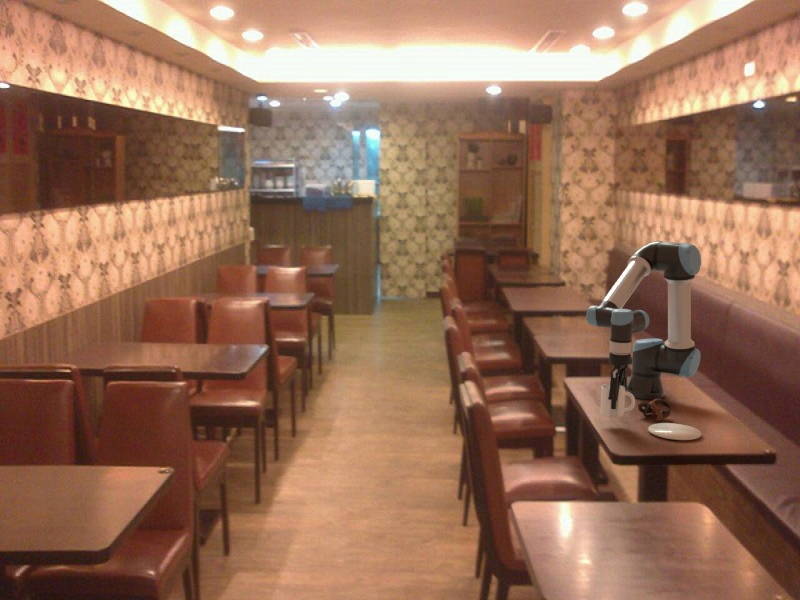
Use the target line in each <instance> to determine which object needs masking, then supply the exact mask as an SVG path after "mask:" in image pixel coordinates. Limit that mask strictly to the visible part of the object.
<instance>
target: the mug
mask: <svg viewBox="0 0 800 600" xmlns="http://www.w3.org/2000/svg"><path fill="white" fill-rule="evenodd" d="M609 391H610V383H606V384H605V383H604V384H602V385H601V392H600V411H599V412H600V414H601V416H603V417H606V418H611V419H612V417H610V400H609V399H608V397H609ZM626 396H627V397H629V398H630V400H631V401H630V406H627V407H625V406H624V402H625V401H626ZM618 400H619V402H618V418H621V417H623V416H624V413H625V412H630V411H631V410H633V409H634V407H635V406H636V398H635V397H634V396H633V394H631V393H630V392H627V391H625V387H624V386H622V385H620V388H619V394H618Z"/></svg>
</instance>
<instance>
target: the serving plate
mask: <svg viewBox="0 0 800 600" xmlns="http://www.w3.org/2000/svg"><path fill="white" fill-rule="evenodd" d="M648 432H649V433H650V434H652V435H653V436H656V437H659V438H663V439H669V440H674V441H675V440H676V441H691V440H693V441H694V440H697V439H699V438H701V437H702V431H700V430H699V429H698V428H696V427H693V426H690V425H686V424H683V423H682V424H681V423H674V422H673V423H671V422H660V423H659V422H658V423H654V424H650V425H649V426H648Z"/></svg>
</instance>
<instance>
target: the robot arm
mask: <svg viewBox="0 0 800 600" xmlns="http://www.w3.org/2000/svg"><path fill="white" fill-rule="evenodd" d="M701 265H702V257H701V252H700V250H699V248H698V247H697V246H696V245H695V244H693V243H685V242H677V241H675V242H674V241H664V240H656V241H652V242H649V243H647V244H644V245H643V246H641V247H639V248H638V249H637V250H635V252H633V254H632V255H631V256H630V258H628V260H627V266H626V267H625V269H624V270H623V271H622V273H621V274H620V275H619V277H618V278H617V279H616V281H615V283H614V284H613V285H612V287H611V288H610V290H609V291H608V293H607V294H606V296H605V297H603V299H602V301H600V303H599V305H591V306H589V307H588V309H587V310H586V322H587V324H588V325H590V326H594V327H596V328H597V327H598V328H605V329H610V338H609V340H610V341H609V342H608V345H609V354H608V362H609V363H610V365H613V368H612V371H611V372H610V383H609V384H610V391H609V397H608V399H609V400H610V417H609V418H611V417H612V418H613V419H618V418H619V417H618V402H619V400H618V394H619V388H620V385H622V386H624V387H625V391H627V392H630V393H631V394H633V396H634V398H635V399H636V398H637V399H642V400H654V399H662V398H664V396H665V389H664V386H663V385H664V384H663V382H662V374H666V375H671V376H676V377H680V378H683V377H684V378H691V377H693V376H694V375H695V374H696V372H697V370H698V368H699V366H700V363H701V358H702V357H701V351H700V349H698V348H696V344H695V341H694V340H692V336H691V335H692V331H691V330H692V329H691V328H692V326H691V325H692V324H691V323H692V320H691V319H692V318H691V317H692V309H691V308H692V301H691V300H692V298H691V297H692V294H691V293H692V289H691V287H692V285H691V284H692V281H693V280H694V279H695V278H696V275H698V273H700V270H701V267H702V266H701ZM655 271H656V272H657V271H658V272H663V279H664V280H665V281H666V282H667V335H668V336H667V339H666V340H665V341H664V340H663V339H662V338H641V339H637V340H635V341H634V342H633V341H632V340H633V334H634V333H635V334H636V333H638V332H639V333H640V332H642V331H643V330H645V329H647V328H648V327H649V325H650V316H649V314H648V313H647V312H646V311H644V310H642V309H635V310H631V309H628V308H623V307H624V306H625V304H626V303H627V302H628V300H629V299H630V297H631V296H632V295H633V293H634V292H635V291H636V290H637V288H638V286H639V285H640V283H641V282H642V281H643V279H644V278H645V277H647V276H649V275H650V273H651V272H655ZM632 342H633V347H632ZM631 353H632V354H631ZM630 364H631V374H630V378H629V380H628V366H629V365H630ZM625 405H626V403H625V402H624V407H625ZM612 418H611V419H612Z"/></svg>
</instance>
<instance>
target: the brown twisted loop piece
mask: <svg viewBox="0 0 800 600" xmlns="http://www.w3.org/2000/svg"><path fill="white" fill-rule="evenodd" d="M660 403H661V405H662V406H664V407H667V410H662V412H661V408H659V407H658V406H657V405H658V404H660ZM637 409H638V411H639V412H640V413H642V415H643V416H644V417H646V416H647V415H648V414H651V415H656V414H657V417H656V419H655V420H656V421H658V422H661V421H662V420H664V419H666V418H668V417H670V415H671V413H672V412H671V411H672V407H671V405H670V404H669V402H668V401H666V400H665V399H662V398H660V399H652V400H651V401H649V402H645V401H641V402H639V403H638V404H637Z"/></svg>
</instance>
